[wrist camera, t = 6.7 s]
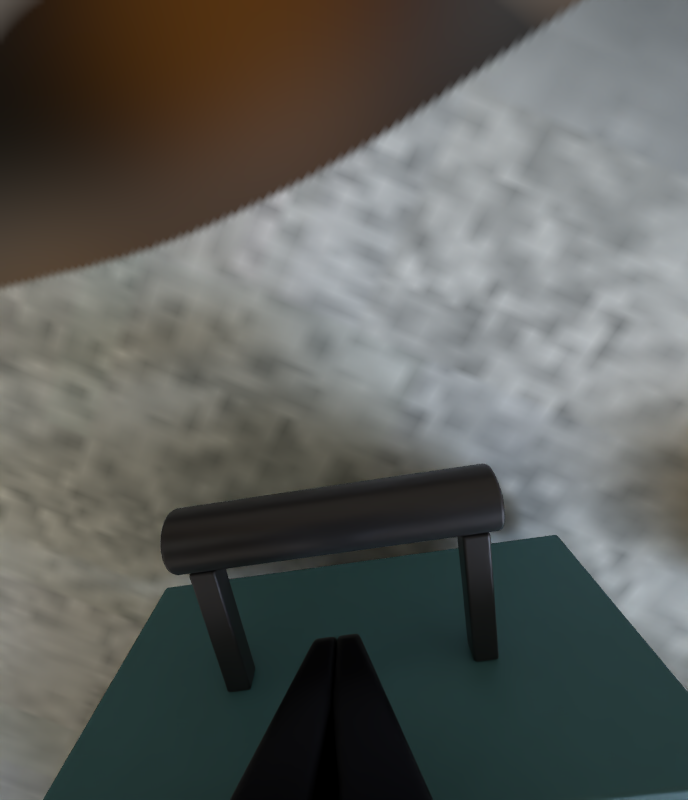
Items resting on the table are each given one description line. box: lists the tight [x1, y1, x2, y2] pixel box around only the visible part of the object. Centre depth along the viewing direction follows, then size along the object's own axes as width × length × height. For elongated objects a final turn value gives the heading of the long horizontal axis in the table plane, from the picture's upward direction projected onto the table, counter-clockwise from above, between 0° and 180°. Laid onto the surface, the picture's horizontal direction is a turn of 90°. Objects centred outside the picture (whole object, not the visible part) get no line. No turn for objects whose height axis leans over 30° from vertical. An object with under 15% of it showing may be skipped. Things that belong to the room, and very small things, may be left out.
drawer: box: [43, 464, 688, 800], centre depth 11 cm, size 17×13×7 cm
